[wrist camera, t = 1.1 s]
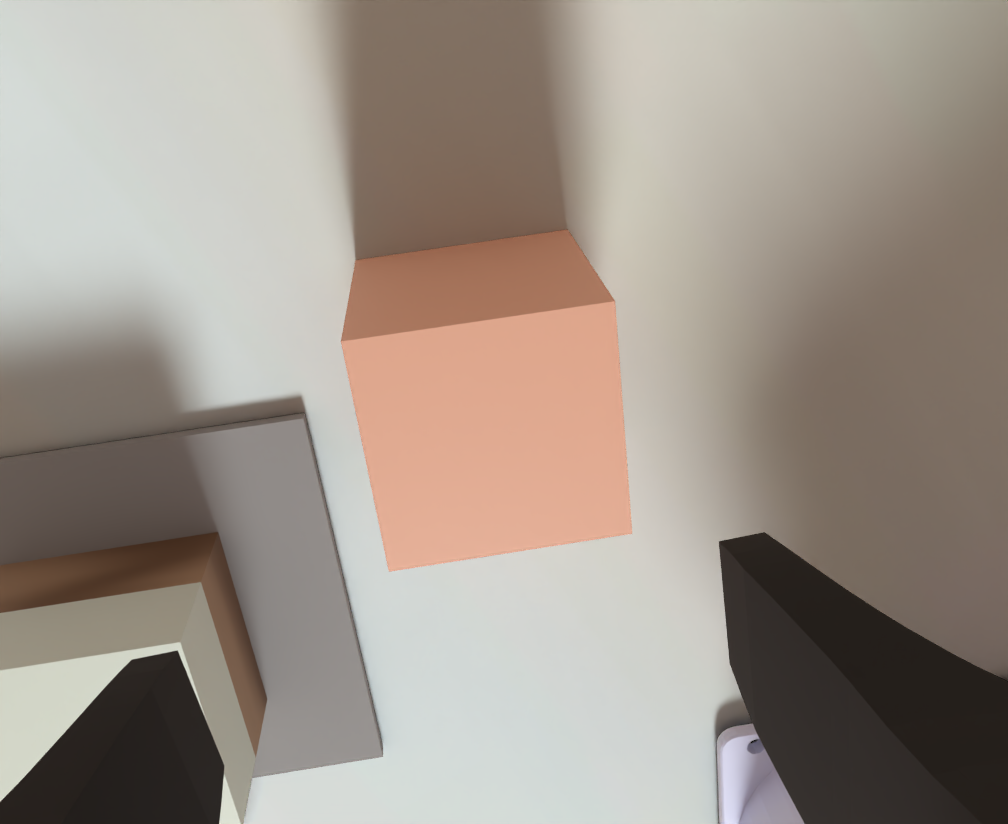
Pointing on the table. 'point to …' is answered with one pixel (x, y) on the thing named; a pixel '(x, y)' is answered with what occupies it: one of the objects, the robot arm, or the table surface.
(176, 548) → the tower base
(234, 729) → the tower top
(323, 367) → the table surface
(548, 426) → the block
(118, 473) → the coaster
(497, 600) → the table surface
